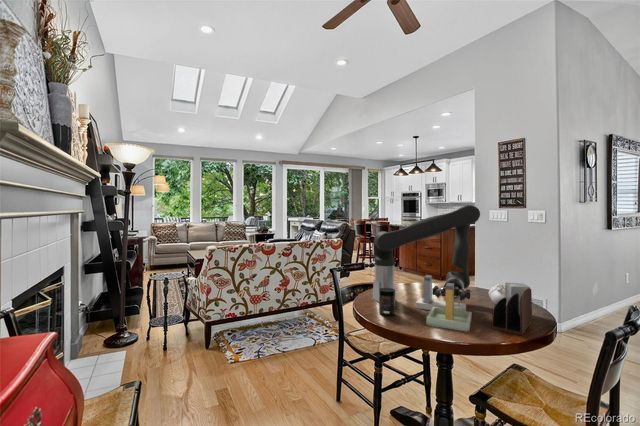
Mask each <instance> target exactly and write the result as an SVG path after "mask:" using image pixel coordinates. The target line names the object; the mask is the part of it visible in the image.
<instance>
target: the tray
mask: <svg viewBox="0 0 640 426" xmlns="http://www.w3.org/2000/svg"><path fill="white" fill-rule="evenodd" d="M472 316H473V312H472V311H467V310H466V311H461V310H454V319H453V320H446V319H445V308H438V307H433V308H432V309H431V310H429V313H428V314H427V315H426V326H429V327H436V328H441V329H448V330H454V331H461V332H467V333H469V332H470V331H471V330H470V329H471V324H472Z"/></svg>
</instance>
